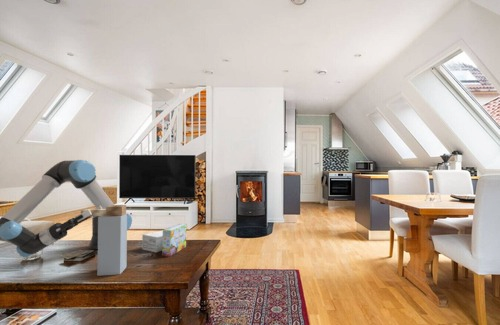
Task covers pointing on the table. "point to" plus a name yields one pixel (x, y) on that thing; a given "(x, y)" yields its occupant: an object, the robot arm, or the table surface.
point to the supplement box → (152, 241)
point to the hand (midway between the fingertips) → (96, 209)
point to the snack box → (173, 239)
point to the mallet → (108, 211)
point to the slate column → (112, 245)
